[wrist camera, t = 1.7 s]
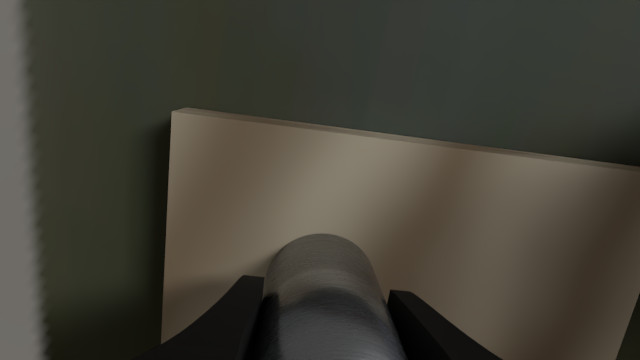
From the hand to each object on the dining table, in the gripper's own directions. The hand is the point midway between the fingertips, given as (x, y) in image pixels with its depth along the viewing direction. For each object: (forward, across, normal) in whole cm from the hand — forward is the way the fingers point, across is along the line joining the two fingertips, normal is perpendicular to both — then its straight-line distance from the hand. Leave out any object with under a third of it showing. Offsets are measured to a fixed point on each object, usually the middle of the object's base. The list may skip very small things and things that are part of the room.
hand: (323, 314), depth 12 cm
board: (+3, -3, +6) cm, 7 cm away
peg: (+2, 0, 0) cm, 2 cm away
